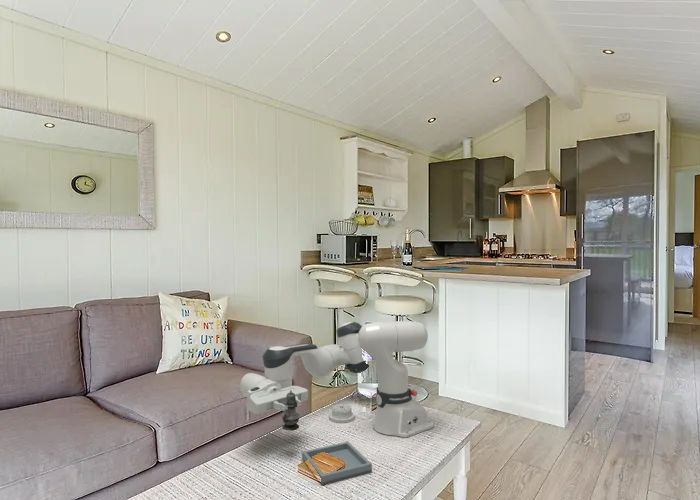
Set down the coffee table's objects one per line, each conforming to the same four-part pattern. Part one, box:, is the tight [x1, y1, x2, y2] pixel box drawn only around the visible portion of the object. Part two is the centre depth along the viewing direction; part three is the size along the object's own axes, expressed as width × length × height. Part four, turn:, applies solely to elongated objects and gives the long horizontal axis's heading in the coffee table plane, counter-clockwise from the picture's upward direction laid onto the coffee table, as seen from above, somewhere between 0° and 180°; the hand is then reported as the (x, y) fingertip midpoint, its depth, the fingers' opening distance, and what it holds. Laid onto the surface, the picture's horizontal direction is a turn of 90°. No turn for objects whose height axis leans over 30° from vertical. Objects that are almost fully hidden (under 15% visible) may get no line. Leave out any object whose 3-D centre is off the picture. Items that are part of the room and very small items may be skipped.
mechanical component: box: [328, 403, 356, 424], centre depth 171 cm, size 10×4×10 cm
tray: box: [301, 441, 373, 486], centre depth 135 cm, size 16×16×2 cm
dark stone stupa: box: [281, 390, 301, 432], centre depth 142 cm, size 6×6×12 cm
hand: (292, 406), depth 141 cm, fingers closed on dark stone stupa, 4 cm apart
